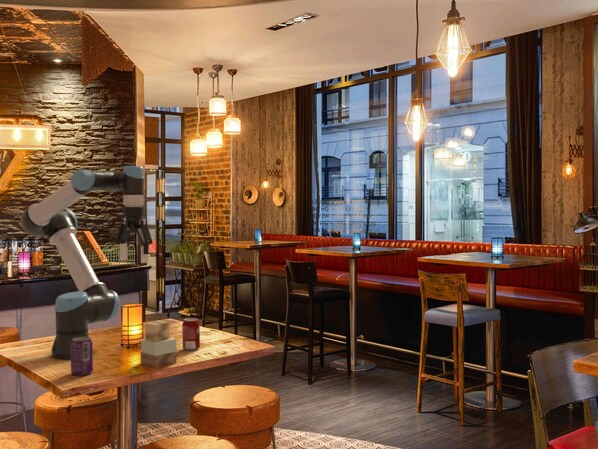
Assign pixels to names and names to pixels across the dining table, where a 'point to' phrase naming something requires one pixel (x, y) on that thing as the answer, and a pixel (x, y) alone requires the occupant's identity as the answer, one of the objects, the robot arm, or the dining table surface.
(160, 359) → the tower base block
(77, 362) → the beverage can
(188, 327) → the soda can
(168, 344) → the tower top block
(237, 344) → the dining table surface
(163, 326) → the oak cube
